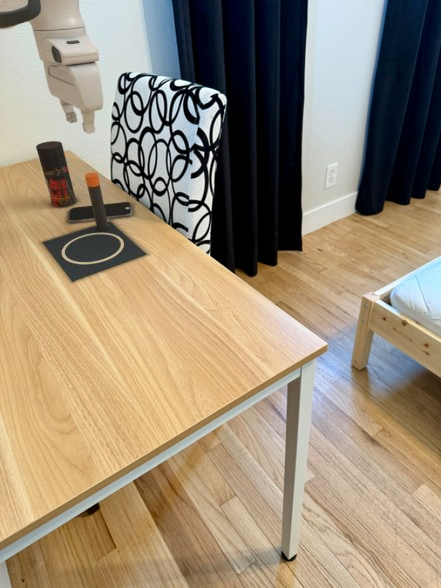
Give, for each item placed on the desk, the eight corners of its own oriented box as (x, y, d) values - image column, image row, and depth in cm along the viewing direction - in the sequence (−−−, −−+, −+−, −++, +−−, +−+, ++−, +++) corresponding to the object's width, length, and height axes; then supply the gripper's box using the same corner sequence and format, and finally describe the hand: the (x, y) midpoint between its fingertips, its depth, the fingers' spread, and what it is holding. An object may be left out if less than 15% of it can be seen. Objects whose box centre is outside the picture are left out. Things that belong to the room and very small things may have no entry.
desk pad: (72, 282, 82) (72, 280, 82) (42, 243, 95) (42, 241, 94) (147, 255, 89) (147, 253, 89) (110, 222, 102) (109, 220, 102)
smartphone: (131, 214, 103) (67, 221, 101) (132, 217, 104) (68, 224, 101) (130, 201, 109) (70, 207, 107) (131, 203, 110) (70, 210, 107)
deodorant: (47, 204, 111) (30, 146, 102) (66, 196, 115) (51, 139, 106) (62, 210, 108) (46, 150, 99) (81, 201, 112) (67, 143, 103)
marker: (100, 233, 97) (87, 178, 89) (95, 229, 99) (82, 174, 91) (111, 229, 98) (99, 175, 90) (106, 225, 100) (94, 171, 92)
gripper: (28, 43, 82) (48, 119, 90) (65, 54, 68) (84, 142, 77) (61, 40, 85) (77, 113, 93) (102, 50, 71) (116, 135, 79)
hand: (80, 127), depth 85 cm, fingers open, 8 cm apart
